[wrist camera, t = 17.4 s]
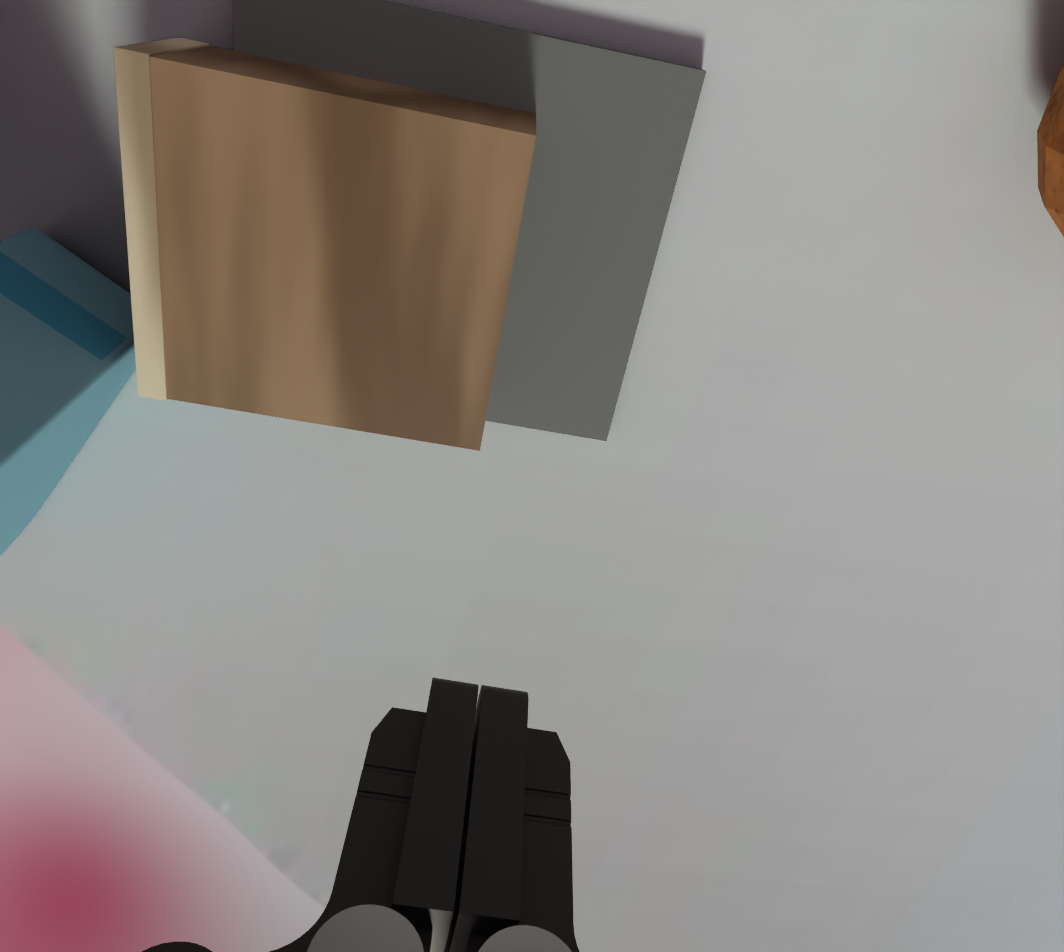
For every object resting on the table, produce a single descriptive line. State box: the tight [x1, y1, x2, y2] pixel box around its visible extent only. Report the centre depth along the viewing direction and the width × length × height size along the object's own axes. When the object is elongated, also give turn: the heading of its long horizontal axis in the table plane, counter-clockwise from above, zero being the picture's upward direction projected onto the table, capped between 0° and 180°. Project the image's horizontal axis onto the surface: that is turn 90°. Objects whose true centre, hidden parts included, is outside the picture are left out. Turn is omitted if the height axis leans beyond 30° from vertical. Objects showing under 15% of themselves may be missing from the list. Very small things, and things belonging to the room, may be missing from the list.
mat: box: [233, 0, 706, 441], centre depth 25 cm, size 13×12×1 cm
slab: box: [113, 37, 536, 451], centre depth 23 cm, size 4×9×10 cm
